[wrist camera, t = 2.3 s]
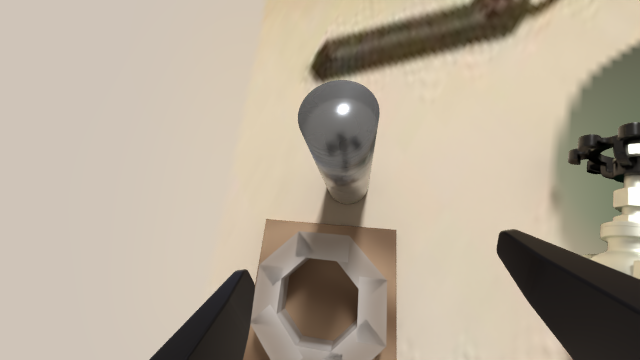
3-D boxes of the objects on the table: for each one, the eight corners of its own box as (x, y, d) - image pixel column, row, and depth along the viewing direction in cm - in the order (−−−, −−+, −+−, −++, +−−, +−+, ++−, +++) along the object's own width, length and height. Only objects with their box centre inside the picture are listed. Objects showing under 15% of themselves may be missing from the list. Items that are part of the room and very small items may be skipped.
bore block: (394, 395, 17) (402, 423, 14) (245, 363, 19) (225, 383, 16) (394, 230, 20) (400, 227, 17) (269, 220, 22) (256, 215, 20)
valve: (641, 327, 16) (639, 173, 19) (825, 374, 10) (778, 133, 13) (533, 290, 17) (546, 154, 20) (630, 310, 11) (629, 110, 14)
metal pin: (376, 181, 22) (397, 106, 11) (349, 212, 21) (341, 166, 10) (345, 158, 23) (334, 68, 12) (319, 186, 23) (282, 120, 11)
